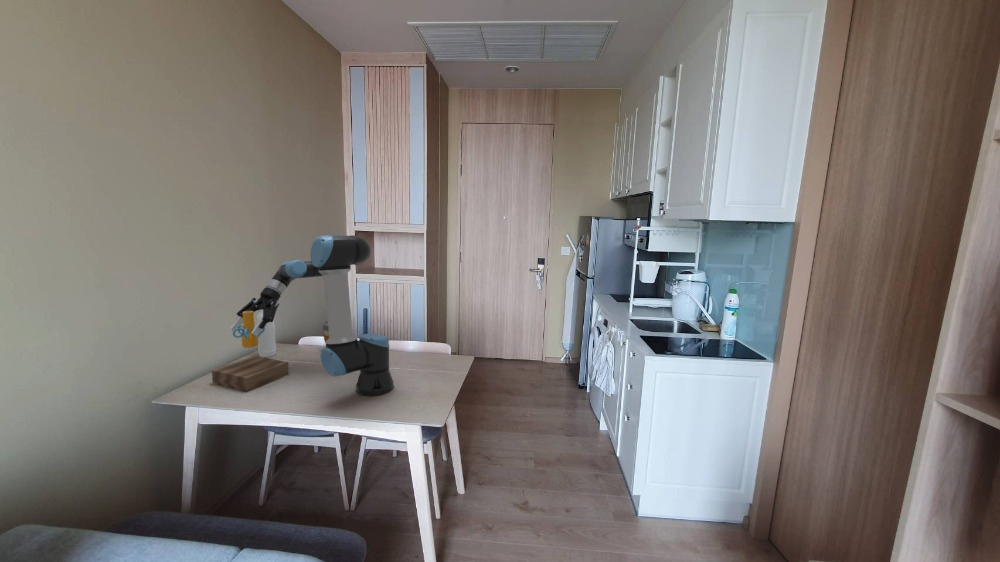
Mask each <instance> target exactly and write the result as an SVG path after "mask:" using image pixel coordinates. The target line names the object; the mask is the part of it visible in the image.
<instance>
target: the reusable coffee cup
mask: <svg viewBox="0 0 1000 562" xmlns="http://www.w3.org/2000/svg"><path fill="white" fill-rule="evenodd" d="M322 330H323V339H324V340H323V341H324V343H325V344H326V341H327V340H328V339H329V329H328V321H325V322H323V323H322Z"/></svg>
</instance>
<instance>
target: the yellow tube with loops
mask: <svg viewBox="0 0 1000 562" xmlns="http://www.w3.org/2000/svg"><path fill="white" fill-rule="evenodd" d="M254 313H255V312H254V311H244V312H243V323H242V325H240V326H239V327H238V328H236V329H235V330H234V331H232V336H233V337H234V338H235V339H239V338H241V339H240V340H241V346H242V348H254V347H258V337H259V336H260V335H261V333H263V332H264V330H265V327H264V328H263V330H262V331H260V333H259V334H258V336H255V335H253V334H252V333H251V332H252V331H253V330H254V328H255V327H256V325H255V314H254ZM235 332H236V333H239V335H236V333H235Z"/></svg>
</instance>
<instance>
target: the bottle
mask: <svg viewBox="0 0 1000 562" xmlns="http://www.w3.org/2000/svg"><path fill="white" fill-rule="evenodd" d="M262 318H263V309H262V310H260V312H259V313H258V314H257V316H256V325H257V324H258V323H259V321H260V320H262ZM270 318H271V317H270ZM262 330H263V329H262ZM262 330H261V331H262ZM275 330H276V328H275V319H274V320H273V322H268V323H267V324H266V325H265V330H264V332H263V333H261V335H260V336H259V337H258V345H257V349H258V350H257V352H258V353H257V354H258V356H260V357H265V358H270V357H273V356H275V355H276V354H277V345H276V344H277V342H276V331H275Z"/></svg>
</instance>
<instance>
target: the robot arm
mask: <svg viewBox="0 0 1000 562" xmlns="http://www.w3.org/2000/svg"><path fill="white" fill-rule="evenodd" d="M371 254H372V249H371V245H370V243H369V242H368V241H367V240H366V239H365V238H363V237H361V236H358V235H335V234H334V235H332V234H330V235H321V236H320V235H319V236H317V237H315V238H314V239H313V242H312V244H311V247H310V260H307V261H304V260H300V259H294V260H291V261H284V262H283V263H282V264H281V265H280V266H279V268H278V269H277V271H275V273H274V275H273V276H272V277H271V279H270V280H269V281H268V282H267V284H266V285H265V287H264V288H263V290H262V291H261V292H260V294H259V295H260V297H258V298H256V297H252V299H251V300H250V301H249V302H248V303H246V304H245V305H244V306H243V307H242V308H241V309H240V310H238V311H237V312H236V316H238V317H237V318H236V319H235V321H234V323H233V324H232V325H231V327H230V328H229V329H230V331H232V332H233V331H234V330H235V329H236V328H238V327H239V326H240V325H243V312H244V311H254V313H255V312H256V311H261V310H262V309H263V318H262V320H260V321H259V323H258V324H257V323H256V325H255V326H256V327H255V328H254V330H253V331H252V332H251V333H252V334H253V335H255V336H258V334H259V333H260V331H261V330H262V329H263V328H264V327H265V325H266V324H267V323H268V322H273V320H274V321H275V315H276V313H277V309H278V308H279V306H280V303H279V302H278V301H279V299H281V297H282V295H283V294H284V293H285V291H286V290H287V288H288V287H289V285H290V284H291V282H293V281H295V280H296V279H304V278H316V277H323V287H324V288H323V289H324V296H325V297H324V298H325V308H326V316H327V318H326V319H327V322H328V329H329V339H328V340H327V341H326V343H325V347H323V348H322V349H321V351H320V355H319V356H320V362H321V366H322V367H323V369H324V370H325V372H326V374H328V375H329V376H331V377H339V376H345V375H347V374H351V373H354V372H357V371H360V372H359V374H358V378H357V381H356V384H355V390H356V392H357V393H358V394H360V395H362V396H367V395H368V396H369V397H370V396H380V395H384V394H387V393H389V392H391V391H392V390H393V389H394V386H395V385H394V379H393V378H392V374H391V371H390V341H389V338H388V337H387V336H385V335H383V334H378V333H365V334H364V333H363V334H361V335H359V338H358V337H357V336H356V335H354V334H353V333H354V332H353V320H352V312H351V303H350V301H351V300H350V292H349V291H350V290H349V289H350V288H349V280H348V274H349V272H350V271H352V268H351V266H352V265H353V266H358V265H361V264H363V263H365V262H367V261H368V260H369V259H370V257H371ZM270 317H271V318H270ZM236 333H237V331H236V332H235V334H236Z"/></svg>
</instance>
